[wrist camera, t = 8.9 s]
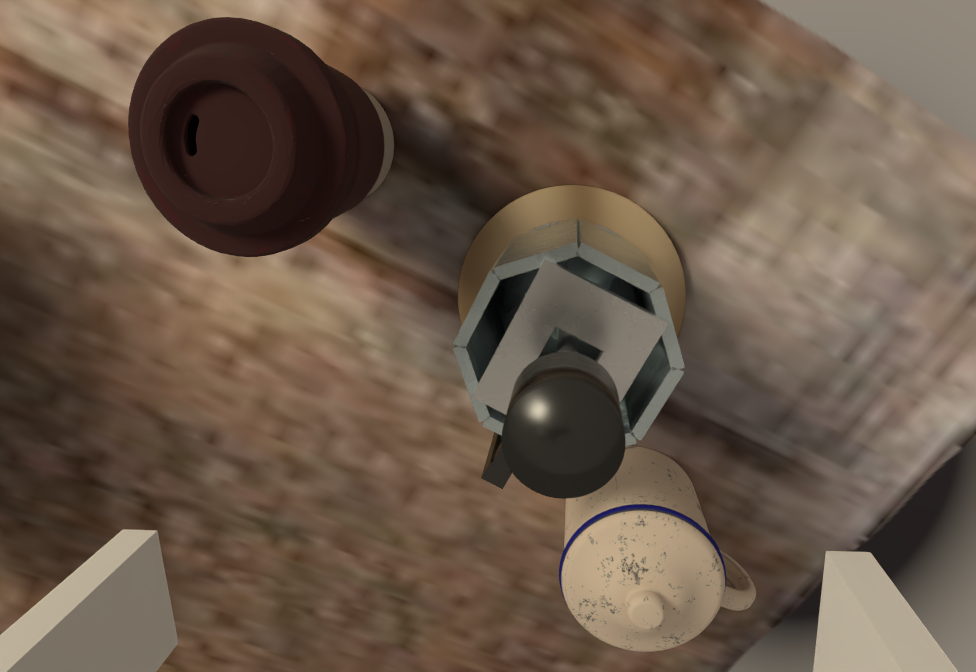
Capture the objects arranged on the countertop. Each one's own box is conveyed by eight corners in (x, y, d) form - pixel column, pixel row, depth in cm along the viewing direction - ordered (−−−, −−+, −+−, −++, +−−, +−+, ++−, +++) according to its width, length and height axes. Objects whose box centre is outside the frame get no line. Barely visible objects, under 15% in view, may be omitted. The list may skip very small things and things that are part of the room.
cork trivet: (465, 403, 46) (463, 406, 45) (453, 189, 42) (451, 189, 41) (680, 404, 44) (682, 407, 43) (688, 180, 40) (689, 180, 40)
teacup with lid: (542, 531, 48) (531, 650, 36) (593, 419, 45) (599, 510, 34) (703, 596, 47) (742, 735, 36) (764, 488, 45) (827, 601, 34)
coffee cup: (451, 143, 41) (384, 143, 27) (344, 256, 44) (232, 310, 30) (332, 19, 40) (197, -51, 26) (230, 142, 43) (57, 141, 29)
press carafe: (443, 370, 45) (395, 451, 33) (535, 190, 41) (518, 208, 29) (579, 440, 45) (580, 547, 33) (683, 267, 41) (727, 317, 29)
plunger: (482, 335, 41) (410, 481, 23) (541, 221, 39) (511, 286, 21) (594, 393, 41) (608, 583, 23) (660, 283, 39) (730, 400, 21)
